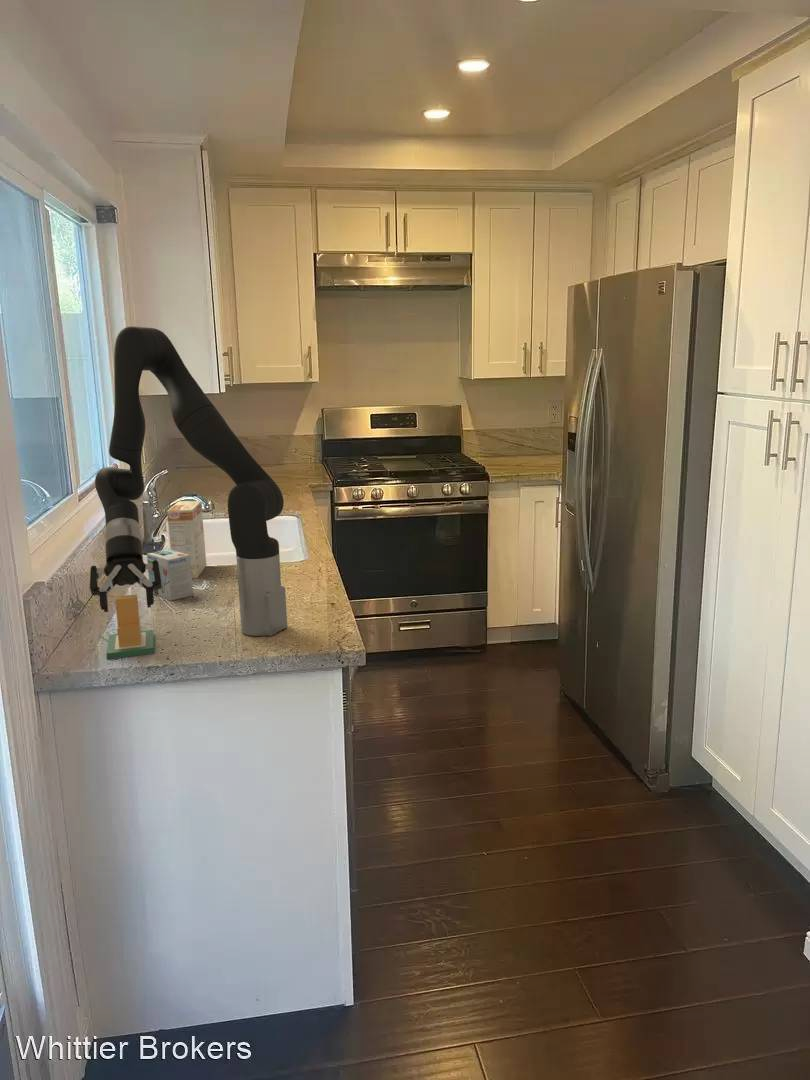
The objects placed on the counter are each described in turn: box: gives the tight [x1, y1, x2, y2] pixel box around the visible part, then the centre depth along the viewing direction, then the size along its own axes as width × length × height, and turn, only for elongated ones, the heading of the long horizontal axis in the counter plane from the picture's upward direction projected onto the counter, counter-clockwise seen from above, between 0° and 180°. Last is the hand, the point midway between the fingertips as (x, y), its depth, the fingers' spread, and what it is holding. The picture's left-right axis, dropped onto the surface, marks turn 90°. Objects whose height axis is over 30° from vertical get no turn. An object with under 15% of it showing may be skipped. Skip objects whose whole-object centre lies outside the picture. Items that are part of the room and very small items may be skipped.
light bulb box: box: [146, 548, 194, 601], centre depth 199 cm, size 11×7×11 cm, turn 47°
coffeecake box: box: [166, 500, 208, 580], centre depth 219 cm, size 15×7×20 cm, turn 4°
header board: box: [106, 629, 155, 660], centre depth 162 cm, size 12×9×4 cm
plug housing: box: [114, 594, 142, 647], centre depth 162 cm, size 10×4×10 cm, turn 18°
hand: (127, 608), depth 161 cm, fingers open, 8 cm apart
